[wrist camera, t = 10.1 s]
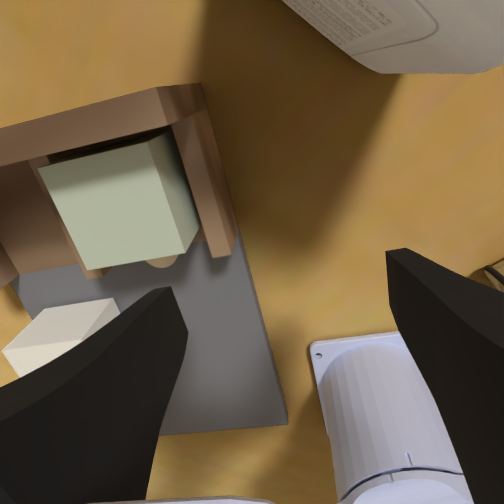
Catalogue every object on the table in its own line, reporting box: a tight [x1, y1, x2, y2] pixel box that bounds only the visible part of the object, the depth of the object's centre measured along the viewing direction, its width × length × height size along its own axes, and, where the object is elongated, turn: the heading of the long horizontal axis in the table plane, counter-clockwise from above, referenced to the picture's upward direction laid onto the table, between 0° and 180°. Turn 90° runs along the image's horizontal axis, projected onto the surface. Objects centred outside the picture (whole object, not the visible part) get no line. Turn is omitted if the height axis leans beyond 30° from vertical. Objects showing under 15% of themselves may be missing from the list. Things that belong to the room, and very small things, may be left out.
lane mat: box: [10, 230, 288, 436], centre depth 25 cm, size 16×15×1 cm
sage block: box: [37, 129, 202, 270], centre depth 18 cm, size 7×5×4 cm
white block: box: [2, 298, 120, 378], centre depth 23 cm, size 11×5×5 cm, turn 13°
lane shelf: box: [0, 83, 239, 289], centre depth 18 cm, size 8×15×7 cm, turn 103°
